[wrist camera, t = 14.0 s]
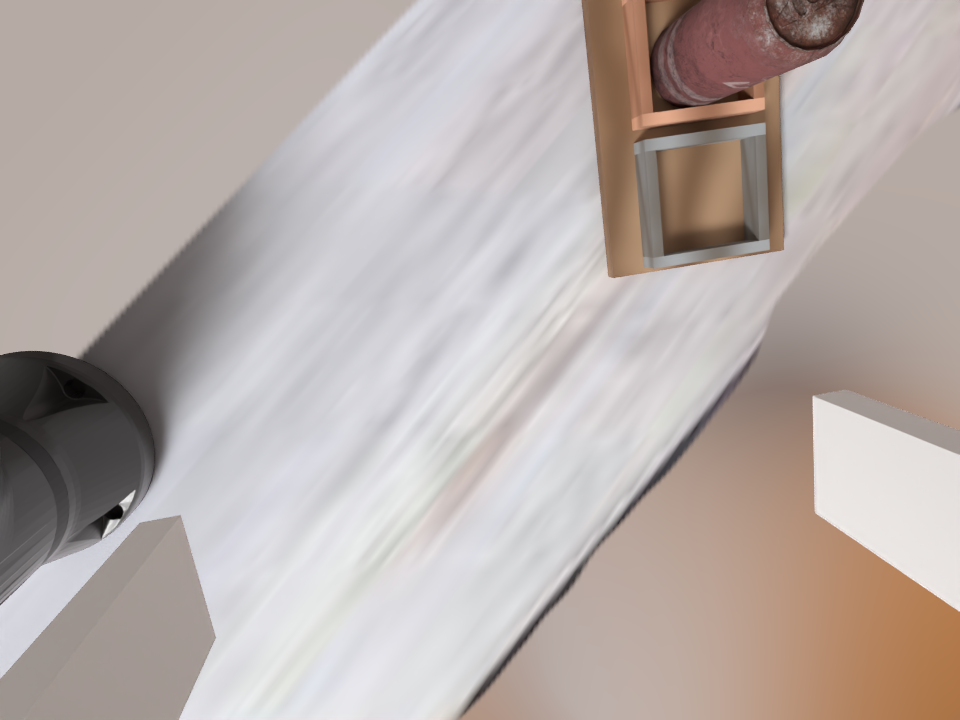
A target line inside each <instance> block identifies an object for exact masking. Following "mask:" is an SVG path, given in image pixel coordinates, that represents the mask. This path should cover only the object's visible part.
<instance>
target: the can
mask: <svg viewBox="0 0 960 720" xmlns="http://www.w3.org/2000/svg"><path fill="white" fill-rule="evenodd" d="M863 2H864V0H701V1H700V2H699V3H697V4H696V5H695V6H693V7H692V8H691V9H689V10H688V11H687V12H685V13H684V14H683V15H682V16H680V17H679V18H678V19H676V20H675V21H674V22H672V23H671V24H670V25H669V26H668V27H667V28H666V29H664V30H663V31H662V32H661V34H660V36H659V37H658V39H657V40H656V42H655V44H654V47H653V51H652V54H651V58H650V70H651V76H652V80H653V83H654V86H655V88H656V89H657V91H658V92H659V94H660V95H661V97H662V98H663V99H665V100H666V101H667V102H669V103H670V104H671V105H673V106H676V107H679V108H682V109H684V108H691V107H698V106H704V105H707V104H709V103H712V102H714V101H717V100H719V99H722V98H724V97H726V96H729V95H731V94H734V93H736V92H739V91H741V90H744V89H746V88H748V87H751V86H753V85H756V84H758V83H761V82H763V81H766V80H768V79H771V78H773V77H775V76H778V75H780V74H783V73H785V72H788V71H790V70H793V69H795V68H797V67H800V66H802V65H805V64H807V63H810V62H812V61H814V60H817V59H819V58H821V57H824V56H826V55H827V54H829V53H830V52H831V51H832V50H833V49H834V48H835V47H837V46H838V45H839V44H840V43H841V42H842V40H843V39H844V37H845V36H846V35H847V34H848V33H849V31H850V30H851V28H852V27H853V25H854V24H855V22H856V21H857V19H858V18H859V15H860V11H861V8H862V5H863Z"/></svg>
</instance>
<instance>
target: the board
mask: <svg viewBox="0 0 960 720" xmlns="http://www.w3.org/2000/svg"><path fill="white" fill-rule="evenodd" d="M700 1H701V0H582V7H583V18H584V28H585V38H586V49H587V59H588V69H589V80H590V90H591V100H592V111H593V121H594V131H595V142H596V152H597V162H598V173H599V183H600V193H601V204H602V214H603V224H604V235H605V245H606V255H607V266H608V276H609V277H612V278H616V277H622V276H629V275H635V274H641V273H647V272H653V271H659V270H665V269H671V268H677V267H683V266H690V265H696V264H702V263H708V262H714V261H720V260H726V259H732V258H738V257H744V256H751V255H757V254H763V253H769V252H775V251H781V250H784V235H783V201H782V167H781V133H780V99H779V75H778V76H775V77H773V78H771V79H768V80H766V81H763V82H761V83H758V84H756V85H753V86H751V87H748V88H746V89H744V90H741V91H739V92H736V93H734V94H731V95H729V96H726V97H724V98H722V99H719V100H717V101H714V102H712V103H709V104H707V105H704V106H698V107H691V108H684V109H682V108H679V107H676V106H673V105H671V104H670V103H669V102H667V101H666V100H665V99H663V98H662V97H661V95H660V94H659V92H658V91H657V89H656V88H655V86H654V83H653V80H652V76H651V70H650V58H651V54H652V51H653V47H654V44H655V42H656V40H657V39H658V37H659V36H660V34H661V32H662V31H663V30H664V29H666V28H667V27H668V26H669V25H670V24H671V23H672V22H674V21H675V20H676V19H678V18H679V17H680V16H682V15H683V14H684V13H685V12H687V11H688V10H689V9H691V8H692V7H693V6H695V5H696V4H697V3H699V2H700Z"/></svg>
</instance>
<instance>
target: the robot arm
mask: <svg viewBox="0 0 960 720" xmlns="http://www.w3.org/2000/svg"><path fill="white" fill-rule="evenodd" d="M813 432H814V433H813V434H814V435H813V437H814V489H815V513H816V514H818V515H819V516H821V517H822V518H824V519H825V520H826V521H828V522H829V523H831V524H832V525H834V526H835V527H837V528H838V529H840V530H841V531H842V532H844V533H845V534H847V535H848V536H850V537H851V538H853V539H854V540H856V541H857V542H859V543H860V544H861V545H863V546H864V547H866V548H868V549H869V550H870V551H872V552H873V553H875V554H876V555H878V556H879V557H881V558H882V559H883V560H885V561H886V562H888V563H889V564H891V565H892V566H894V567H895V568H897V569H898V570H900V571H901V572H903V573H904V574H905V575H907V576H908V577H910V578H911V579H913V580H914V581H916V582H917V583H919V584H920V585H922V586H923V587H924V588H926V589H927V590H929V591H930V592H932V593H933V594H935V595H936V596H938V597H939V598H941V599H942V600H943V601H945V602H946V603H948V604H949V605H951V606H952V607H954V608H955V609H957V610H958V611H960V430H957V429H954V428H951V427H949V426H946V425H943V424H940V423H938V422H935V421H932V420H929V419H926V418H924V417H920V416H918V415H915V414H913V413H910V412H907V411H904V410H901V409H899V408H895V407H893V406H890V405H887V404H884V403H882V402H879V401H876V400H873V399H871V398H868V397H865V396H862V395H860V394H857V393H854V392H851V391H848V390H841V391H836V392H830V393H825V394H820V395H815V396H813ZM154 457H155V453H154V444H153V438H152V434H151V431H150V428H149V425H148V423H147V420H146V418H145V416H144V414H143V412H142V411H141V409H140V407H139V406H138V404H137V403H136V401H135V400H134V399H133V398H132V396H131V395H130V394H129V393H128V392H127V391H126V390H125V389H124V388H123V387H122V386H121V385H120V384H119V383H118V382H117V381H116V380H114V379H113V378H112V377H110V376H109V375H108V374H106V373H105V372H103V371H101V370H100V369H98V368H96V367H94V366H92V365H90V364H88V363H86V362H84V361H81V360H79V359H76V358H73V357H70V356H66V355H62V354H58V353H52V352H42V351H23V352H22V351H21V352H13V353H8V354H4V355H0V605H1V604H2V603H3V602H4V601H5V600H6V599H7V598H8V597H9V596H10V595H11V594H12V593H13V592H14V591H16V590H17V589H18V588H19V587H20V586H21V585H22V584H23V583H24V582H25V581H26V580H27V579H28V578H29V577H30V576H31V575H32V574H33V573H34V572H35V571H36V570H37V569H38V568H39V567H40V566H42V565H44V564H47V563H49V562H52V561H55V560H57V559H60V558H63V557H65V556H68V555H71V554H73V553H76V552H78V551H81V550H84V549H86V548H88V547H90V546H92V545H94V544H96V543H98V542H99V541H101V540H102V539H104V538H105V537H107V536H108V535H109V534H111V533H112V532H113V531H114V530H116V529H117V528H118V527H119V526H120V525H121V524H122V523H123V522H124V521H125V520H126V519H127V517H128V516H129V515H130V514H131V513H132V512H133V511H134V510H135V509H136V508H137V506H138V505H139V504H140V502H141V501H142V499H143V497H144V496H145V494H146V492H147V490H148V487H149V485H150V482H151V479H152V475H153V470H154ZM215 638H216V636H215V633H214V629H213V626H212V622H211V619H210V615H209V612H208V609H207V605H206V602H205V598H204V595H203V591H202V588H201V584H200V581H199V577H198V574H197V570H196V567H195V563H194V560H193V556H192V553H191V549H190V546H189V542H188V539H187V535H186V532H185V528H184V525H183V522H182V518H181V515H179V516H174V517H169V518H163V519H158V520H153V521H148V522H142V523H139V524H138V525H137V527H136V528H135V529H134V530H133V531H132V532H131V533H130V534H129V536H128V537H127V538H126V539H125V540H124V541H123V542H122V543H121V545H120V546H119V547H118V548H117V549H116V550H115V551H114V552H113V553H112V555H111V556H110V557H109V558H108V559H107V560H106V561H105V562H104V564H103V565H102V566H101V567H100V568H99V569H98V570H97V571H96V573H95V574H94V575H93V576H92V577H91V578H90V579H89V580H88V582H87V583H86V584H85V585H84V586H83V587H82V588H81V589H80V591H79V592H78V593H77V594H76V595H75V596H74V597H73V598H72V599H71V601H70V602H69V603H68V604H67V605H66V606H65V607H64V608H63V610H62V611H61V612H60V613H59V614H58V615H57V616H56V617H55V619H54V620H53V621H52V622H51V623H50V624H49V625H48V626H47V628H46V629H45V630H44V631H43V632H42V633H41V634H40V635H39V637H38V638H37V639H36V640H35V641H34V642H33V643H32V644H31V645H30V647H29V648H28V649H27V650H26V651H25V652H24V653H23V654H22V656H21V657H20V658H19V659H18V660H17V661H16V662H15V663H14V665H13V666H12V667H11V668H10V669H9V670H8V671H7V672H6V674H5V675H4V676H3V677H2V678H1V679H0V720H179V718H180V715H181V713H182V711H183V709H184V707H185V704H186V702H187V700H188V698H189V696H190V693H191V691H192V689H193V687H194V685H195V682H196V680H197V678H198V676H199V674H200V671H201V669H202V667H203V665H204V663H205V660H206V658H207V656H208V654H209V652H210V649H211V647H212V645H213V643H214V641H215Z"/></svg>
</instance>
